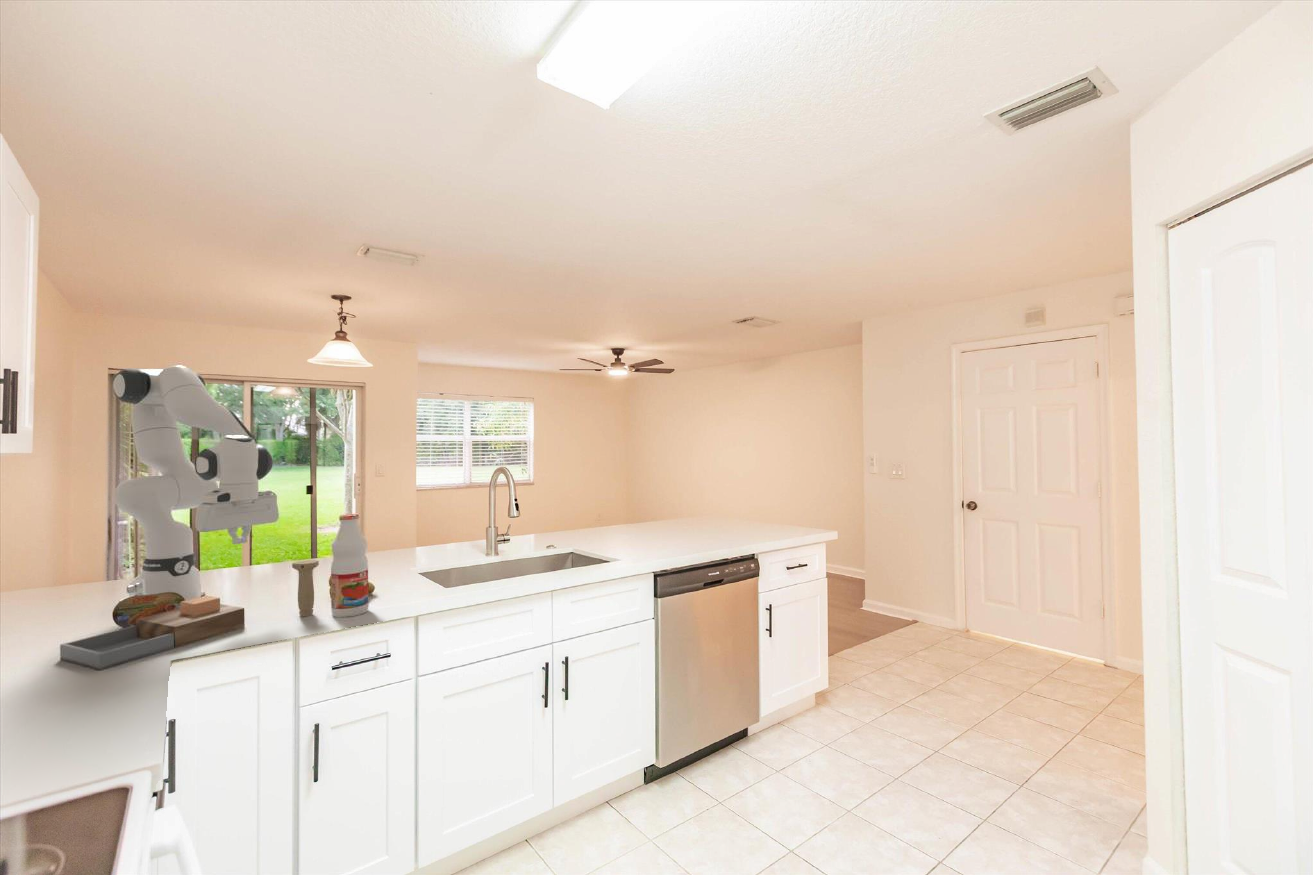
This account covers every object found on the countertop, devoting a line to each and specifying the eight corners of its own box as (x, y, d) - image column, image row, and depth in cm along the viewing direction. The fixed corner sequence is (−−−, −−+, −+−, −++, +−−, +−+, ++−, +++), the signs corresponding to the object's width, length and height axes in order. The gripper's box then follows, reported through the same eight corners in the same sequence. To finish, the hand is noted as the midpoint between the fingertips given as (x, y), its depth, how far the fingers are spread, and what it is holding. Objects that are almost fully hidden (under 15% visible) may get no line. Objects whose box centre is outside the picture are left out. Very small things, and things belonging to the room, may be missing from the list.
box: (60, 659, 131) (60, 644, 131) (135, 639, 144) (134, 625, 144) (99, 670, 125) (99, 654, 125) (173, 648, 138) (173, 633, 138)
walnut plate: (136, 639, 144) (136, 619, 144) (206, 619, 159) (206, 601, 159) (175, 647, 138) (174, 626, 138) (244, 626, 153) (244, 607, 153)
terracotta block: (180, 613, 149) (180, 601, 149) (205, 606, 155) (205, 595, 155) (194, 615, 147) (194, 604, 147) (220, 609, 152) (220, 597, 152)
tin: (112, 631, 151) (111, 599, 151) (116, 627, 154) (116, 596, 154) (184, 622, 158) (184, 591, 158) (187, 618, 161) (187, 588, 161)
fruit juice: (352, 606, 171) (351, 512, 171) (376, 609, 167) (374, 513, 167) (323, 615, 162) (322, 516, 162) (348, 619, 159) (346, 517, 158)
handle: (315, 616, 161) (315, 563, 161) (290, 618, 160) (289, 564, 160) (321, 611, 166) (321, 559, 166) (296, 613, 165) (296, 560, 164)
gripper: (269, 489, 171) (269, 536, 171) (191, 497, 152) (192, 549, 152) (283, 490, 168) (284, 537, 168) (206, 497, 149) (207, 551, 149)
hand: (239, 543), depth 160 cm, fingers closed
